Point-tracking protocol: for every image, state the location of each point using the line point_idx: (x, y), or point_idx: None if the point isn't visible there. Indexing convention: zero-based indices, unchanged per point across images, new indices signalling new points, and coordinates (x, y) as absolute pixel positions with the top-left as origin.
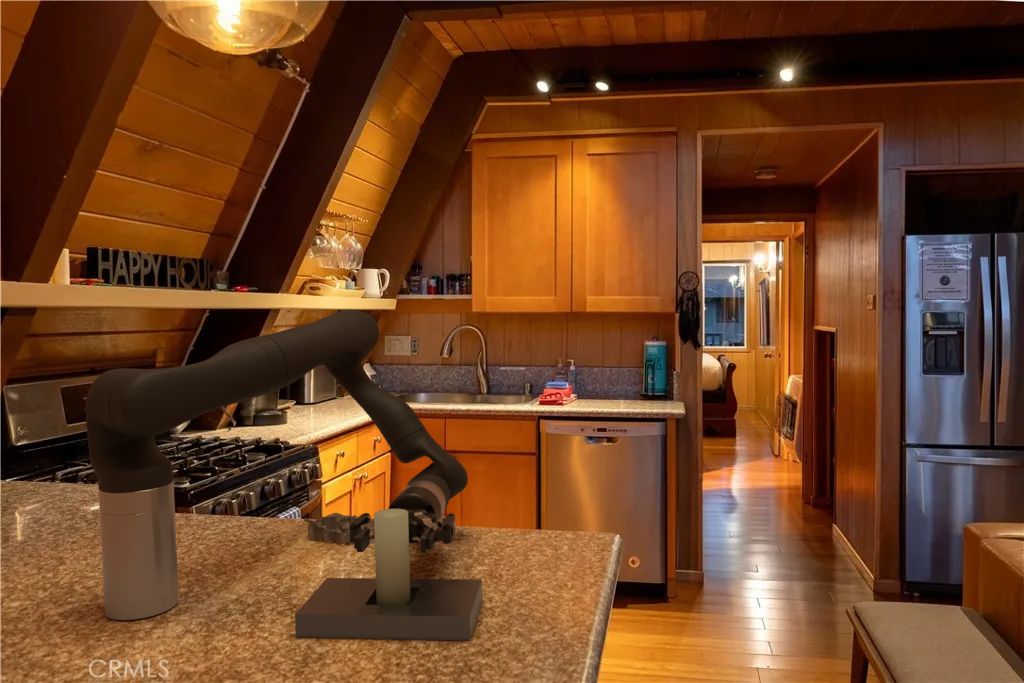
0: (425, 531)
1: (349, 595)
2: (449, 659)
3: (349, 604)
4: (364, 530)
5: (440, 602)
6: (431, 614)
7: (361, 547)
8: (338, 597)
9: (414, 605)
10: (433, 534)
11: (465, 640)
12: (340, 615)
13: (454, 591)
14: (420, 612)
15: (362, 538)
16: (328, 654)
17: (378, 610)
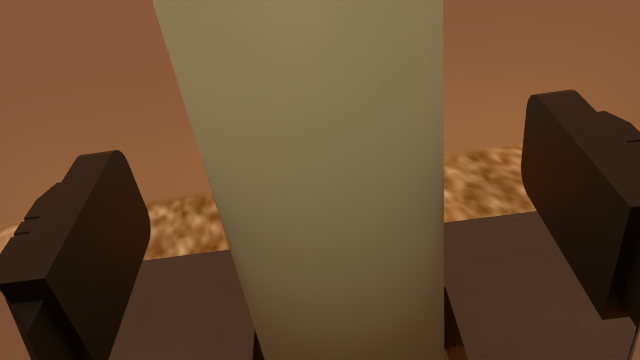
0: (65, 219)
1: (580, 355)
2: (150, 243)
3: (511, 281)
4: (619, 159)
5: (136, 351)
6: (173, 265)
7: (524, 149)
8: (615, 328)
9: (241, 311)
10: (10, 250)
11: None
12: (486, 219)
13: None
14: (212, 269)
15: (535, 114)
16: (462, 212)
17: None
